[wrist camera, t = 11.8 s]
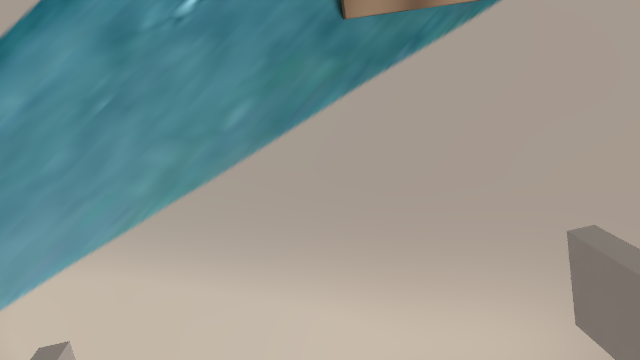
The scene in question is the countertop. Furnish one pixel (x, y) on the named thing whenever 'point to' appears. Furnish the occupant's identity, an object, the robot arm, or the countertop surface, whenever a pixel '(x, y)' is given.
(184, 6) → the countertop surface
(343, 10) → the striped wooden coaster
